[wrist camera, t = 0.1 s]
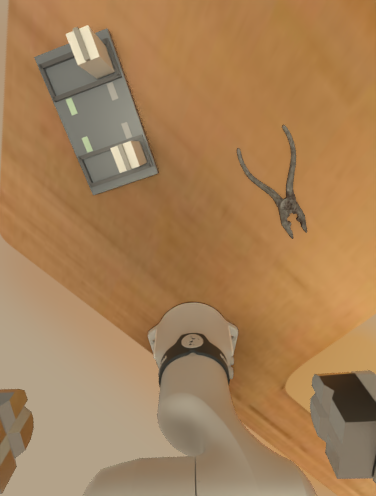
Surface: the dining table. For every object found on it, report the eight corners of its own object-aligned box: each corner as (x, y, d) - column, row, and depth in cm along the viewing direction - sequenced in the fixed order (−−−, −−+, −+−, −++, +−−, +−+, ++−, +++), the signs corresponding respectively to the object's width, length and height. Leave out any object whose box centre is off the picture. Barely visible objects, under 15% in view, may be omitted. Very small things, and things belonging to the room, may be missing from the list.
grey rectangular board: (158, 172, 53) (157, 173, 51) (95, 193, 54) (91, 196, 52) (109, 31, 46) (105, 26, 44) (38, 59, 48) (31, 55, 45)
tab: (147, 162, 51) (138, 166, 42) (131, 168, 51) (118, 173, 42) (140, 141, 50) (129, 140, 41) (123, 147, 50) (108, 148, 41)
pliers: (279, 115, 50) (339, 210, 55) (278, 115, 51) (336, 209, 56) (231, 153, 52) (293, 241, 57) (230, 153, 53) (291, 240, 58)
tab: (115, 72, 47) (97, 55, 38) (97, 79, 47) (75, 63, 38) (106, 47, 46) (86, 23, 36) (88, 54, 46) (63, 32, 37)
